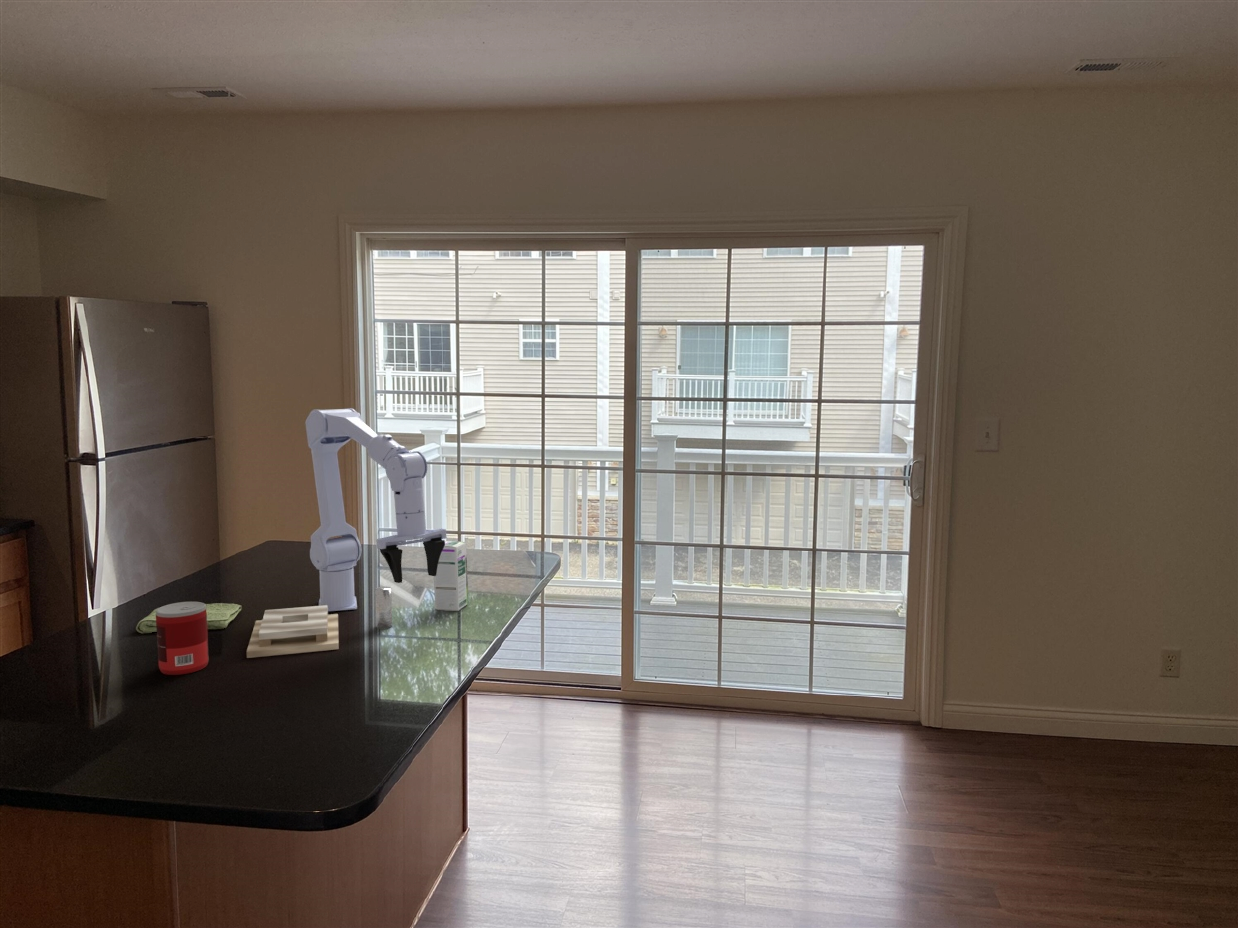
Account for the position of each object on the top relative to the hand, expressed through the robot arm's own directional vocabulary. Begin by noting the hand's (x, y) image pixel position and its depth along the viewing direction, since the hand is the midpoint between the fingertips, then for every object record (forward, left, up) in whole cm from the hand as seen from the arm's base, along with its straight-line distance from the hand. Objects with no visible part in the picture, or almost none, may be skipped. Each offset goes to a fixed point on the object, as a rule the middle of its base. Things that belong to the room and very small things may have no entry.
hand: (415, 578), depth 170 cm
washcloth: (-19, -44, -11) cm, 49 cm away
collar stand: (-2, -23, -11) cm, 26 cm away
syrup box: (-14, +9, -11) cm, 20 cm away
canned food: (+10, -41, -11) cm, 44 cm away
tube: (-4, -6, -11) cm, 13 cm away
